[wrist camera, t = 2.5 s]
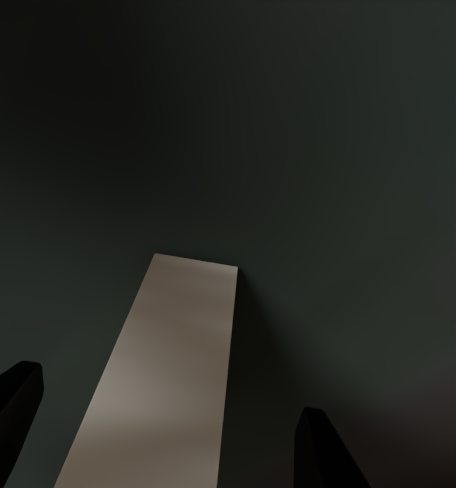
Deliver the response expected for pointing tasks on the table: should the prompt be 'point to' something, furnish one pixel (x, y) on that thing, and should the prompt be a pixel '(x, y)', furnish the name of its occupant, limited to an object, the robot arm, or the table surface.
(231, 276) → the domino
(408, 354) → the table surface
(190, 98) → the table surface
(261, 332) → the table surface
